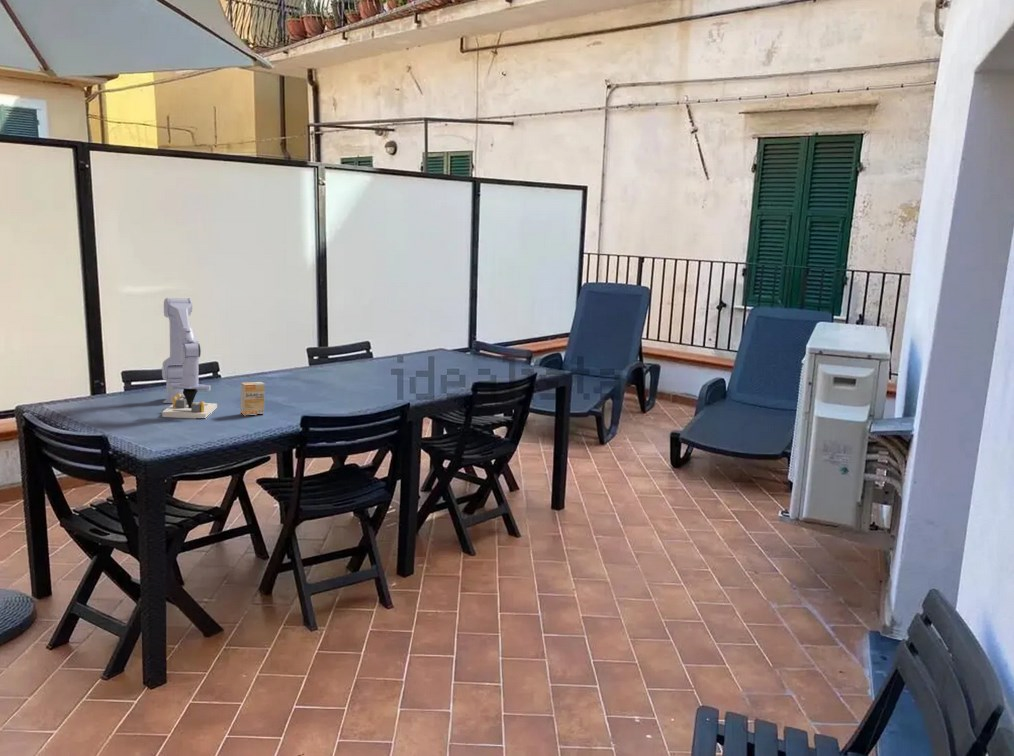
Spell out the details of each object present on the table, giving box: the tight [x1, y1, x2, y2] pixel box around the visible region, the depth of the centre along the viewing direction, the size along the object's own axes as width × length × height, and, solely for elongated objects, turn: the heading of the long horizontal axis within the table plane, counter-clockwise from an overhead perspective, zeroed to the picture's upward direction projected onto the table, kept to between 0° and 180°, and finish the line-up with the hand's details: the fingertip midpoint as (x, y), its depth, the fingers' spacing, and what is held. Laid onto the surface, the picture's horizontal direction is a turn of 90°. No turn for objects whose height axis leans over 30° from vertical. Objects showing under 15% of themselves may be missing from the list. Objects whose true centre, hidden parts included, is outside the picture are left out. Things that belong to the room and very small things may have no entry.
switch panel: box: [161, 394, 218, 419], centre depth 298 cm, size 17×16×6 cm
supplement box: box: [239, 381, 266, 416], centre depth 301 cm, size 8×5×13 cm, turn 126°
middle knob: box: [176, 398, 186, 408], centre depth 297 cm, size 3×3×3 cm
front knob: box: [191, 401, 200, 412], centre depth 293 cm, size 3×3×3 cm
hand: (190, 407), depth 293 cm, fingers closed
